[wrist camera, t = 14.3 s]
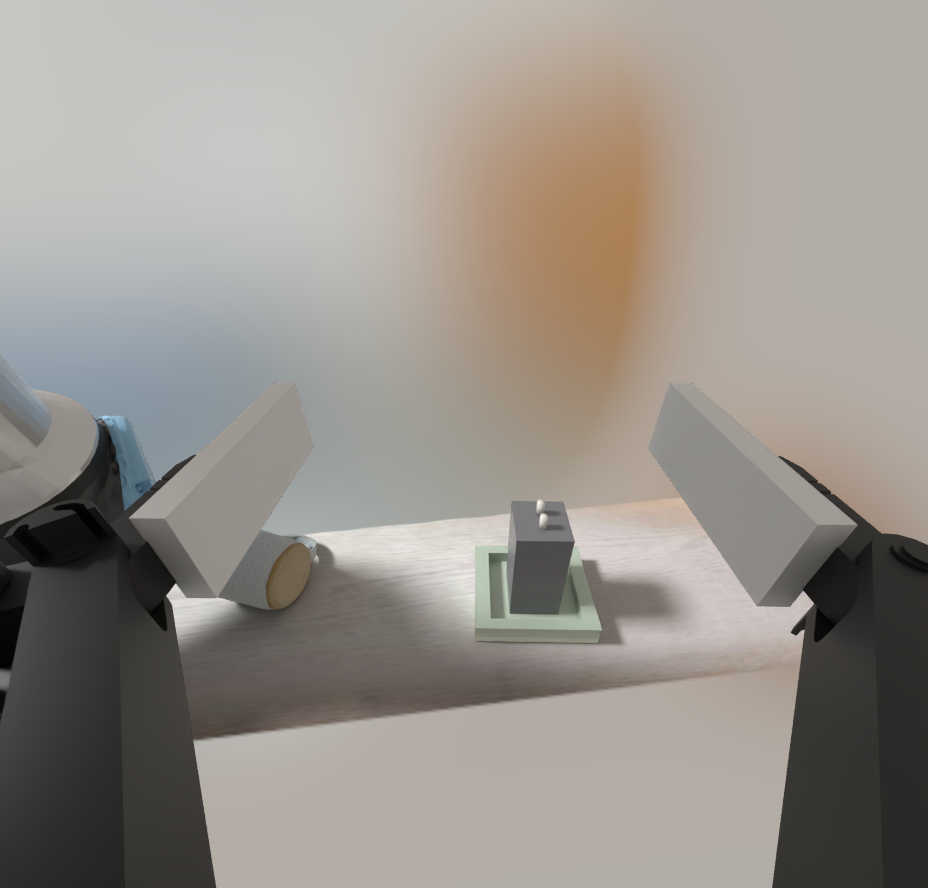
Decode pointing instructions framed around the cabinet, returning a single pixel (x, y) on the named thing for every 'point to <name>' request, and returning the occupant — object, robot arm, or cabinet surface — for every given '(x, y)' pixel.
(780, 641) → the cabinet surface
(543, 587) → the charger brick
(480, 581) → the shallow pale green tray
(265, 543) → the ceramic mug
